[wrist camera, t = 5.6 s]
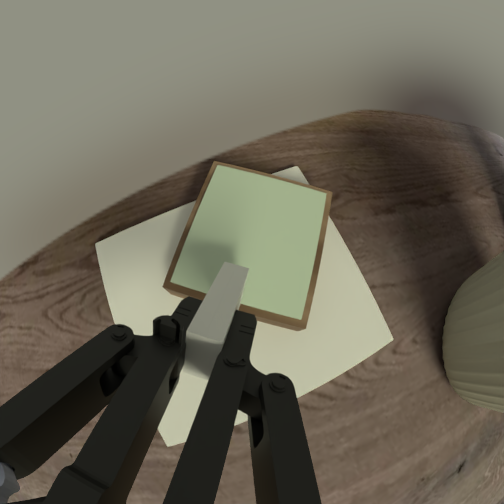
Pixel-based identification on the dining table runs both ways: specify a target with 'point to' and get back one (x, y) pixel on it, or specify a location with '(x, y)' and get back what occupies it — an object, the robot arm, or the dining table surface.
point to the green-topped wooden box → (255, 242)
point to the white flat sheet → (266, 335)
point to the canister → (477, 337)
